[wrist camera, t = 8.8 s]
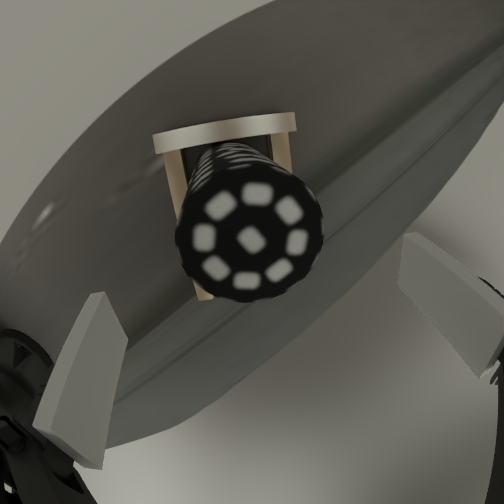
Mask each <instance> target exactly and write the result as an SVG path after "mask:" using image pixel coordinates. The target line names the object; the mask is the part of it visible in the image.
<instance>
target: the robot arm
mask: <svg viewBox="0 0 504 504" xmlns="http://www.w3.org/2000/svg"><path fill="white" fill-rule="evenodd" d="M397 285H398V287H399V288H400V289H401V290H402V291H403V292H404V293H405V294H406V295H407V296H408V297H409V298H410V299H411V300H412V301H413V302H414V303H415V304H416V306H417V307H418V308H419V309H420V310H421V311H422V312H423V313H424V314H425V315H426V317H427V318H428V319H429V320H430V321H431V322H432V323H433V324H434V325H435V327H436V328H437V329H438V330H439V331H440V332H441V333H442V335H443V336H444V337H445V338H446V339H447V340H448V341H449V343H450V344H451V345H452V346H453V348H454V349H455V350H456V351H457V352H458V354H459V355H460V356H461V357H462V358H463V360H464V361H465V362H466V363H467V365H468V366H469V367H470V368H471V370H472V371H473V372H474V373H475V375H476V376H477V377H478V378H481V377H482V376H484V375H485V374H487V373H488V372H489V371H491V369H492V368H493V366H494V364H495V362H496V361H497V359H498V360H499V361H500V363H501V364H500V366H499V367H498V369H497V370H496V372H495V373H494V375H493V377H492V378H491V380H490V384H492V383H493V382H494V380H495V379H496V377H497V376H498V379H497V381H496V383H495V385H498V425H497V437H496V446H495V454H494V461H493V467H492V473H491V478H490V484H489V488H488V492H487V497H486V500H485V504H504V296H503V295H501V293H500V292H499V291H498V290H497V289H494V287H493V286H492V285H491V284H489V283H488V282H487V281H486V280H483V279H482V278H480V277H477V276H476V275H474V274H473V273H472V272H471V271H469V270H468V269H467V268H466V267H464V266H463V265H462V264H460V263H459V262H458V261H456V260H455V259H454V258H452V257H451V256H450V255H448V254H447V253H446V252H444V251H443V250H441V249H440V248H439V247H437V246H436V245H435V244H433V243H432V242H430V241H429V240H428V239H426V238H425V237H423V236H422V235H420V234H419V233H417V232H412V233H407V234H404V238H403V247H402V255H401V263H400V270H399V277H398V283H397ZM127 343H128V338H127V336H126V334H125V332H124V330H123V329H122V327H121V325H120V323H119V321H118V318H117V316H116V314H115V312H114V310H113V308H112V306H111V304H110V302H109V299H108V297H107V295H106V293H105V291H103V292H98V293H92V294H90V295H89V297H88V299H87V300H86V302H85V304H84V306H83V308H82V310H81V312H80V314H79V316H78V318H77V319H76V321H75V323H74V325H73V327H72V329H71V331H70V334H69V336H68V338H67V340H66V342H65V344H64V346H63V348H62V350H61V353H60V355H59V357H58V359H57V362H56V364H53V363H52V361H51V359H50V358H49V356H48V355H47V354H46V352H45V351H44V350H43V349H42V348H41V347H40V346H39V345H38V344H37V343H36V342H34V341H33V340H32V339H30V338H29V337H27V336H26V335H24V334H22V333H20V332H18V331H15V330H4V331H2V332H1V334H0V504H97V502H96V501H95V499H94V498H93V496H92V495H91V493H90V491H89V490H88V489H87V487H86V485H85V483H84V481H83V480H82V478H81V476H80V475H79V473H78V471H77V470H76V469H75V468H74V467H73V463H74V461H76V462H77V463H79V464H80V465H81V466H83V467H85V468H92V469H98V470H102V466H103V458H104V452H105V445H106V439H107V433H108V427H109V422H110V416H111V411H112V406H113V401H114V397H115V392H116V387H117V383H118V379H119V374H120V370H121V366H122V362H123V358H124V354H125V350H126V346H127ZM4 483H5V484H7V485H8V486H10V487H12V493H9V492H8V491H6V490H5V488H4Z"/></svg>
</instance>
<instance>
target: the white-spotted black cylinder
mask: <svg viewBox="0 0 504 504" xmlns="http://www.w3.org/2000/svg"><path fill="white" fill-rule="evenodd" d="M323 237H324V221H323V215H322V212H321V209H320V205H319V203H318V201H317V200H316V198H315V196H314V194H313V193H312V191H311V190H310V189H309V188H308V187H307V186H306V185H305V184H304V182H302V181H301V180H300V179H298V178H297V177H296V176H294V175H293V174H291V173H290V172H289V171H287V170H286V169H284V168H283V167H281V166H280V165H278V164H277V163H275V162H274V161H272V160H271V159H269V158H268V157H266V156H264V155H263V154H261V153H260V152H258V151H257V150H255V149H254V148H252V147H250V146H249V145H247V144H246V143H243V142H241V141H237V140H224V141H218V142H216V143H213V144H211V145H210V146H209V147H207V148H206V149H205V150H204V151H203V152H202V153H201V155H200V156H199V158H198V160H197V162H196V165H195V168H194V170H193V173H192V176H191V179H190V182H189V185H188V188H187V191H186V194H185V197H184V200H183V203H182V206H181V210H180V213H179V216H178V219H177V223H176V231H175V243H176V251H177V254H178V257H179V260H180V263H181V265H182V267H183V268H184V270H185V272H186V273H187V275H188V276H189V277H190V278H191V279H192V280H193V282H194V283H195V284H196V285H198V286H199V287H200V288H202V289H203V290H204V291H206V292H207V293H209V294H211V295H213V296H215V297H218V298H220V299H224V300H228V301H232V302H242V303H248V302H259V301H263V300H267V299H271V298H274V297H276V296H278V295H281V294H283V293H285V292H286V291H288V290H290V289H291V288H293V287H294V286H295V285H297V284H298V283H299V282H300V281H301V280H302V279H303V278H304V277H305V276H306V275H307V274H308V272H309V271H310V270H311V269H312V267H313V266H314V264H315V262H316V260H317V258H318V256H319V254H320V251H321V247H322V244H323Z"/></svg>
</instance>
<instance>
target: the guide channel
mask: <svg viewBox="0 0 504 504" xmlns="http://www.w3.org/2000/svg"><path fill="white" fill-rule="evenodd" d="M292 131H296V123H295V114H294V112H287V113H276V114H267V115H258V116H250V117H242V118H235V119H229V120H222V121H216V122H211V123H205V124H200V125H195V126H190V127H185V128H180V129H176V130H171V131H167V132H162V133H158V134H154V135H152V136H153V141H154V146H155V151H156V154H159V153H163V158H164V163H165V168H166V173H167V178H168V182H169V187H170V191H171V196H172V200H173V205H174V209H175V213H176V217H177V219H178V216H179V213H180V210H181V206H182V203H183V200H184V197H185V194H186V191H187V188H188V185H189V180H188V175H187V170H186V165H185V159H184V154H183V149H182V148H186V147H191V146H196V145H201V144H207V143H212V142H218V141H224V140H230V139H236V138H243V137H250V136H257V135H265V134H266V136H267V144H268V152H269V159H271V160H272V161H274V162H275V163H277V164H278V165H280V166H281V167H283V168H284V169H286V170H287V171H289V172H290V173H291V174H292V166H291V156H290V147H289V138H288V132H292ZM194 286H195V289H196V293H197V296H198V300H199V301H202V300H208V299H213V295H211V294H209V293H207V292H206V291H204V290H203V289H202V288H200V287H199V286H198V285H196V284H195V283H194Z"/></svg>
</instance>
